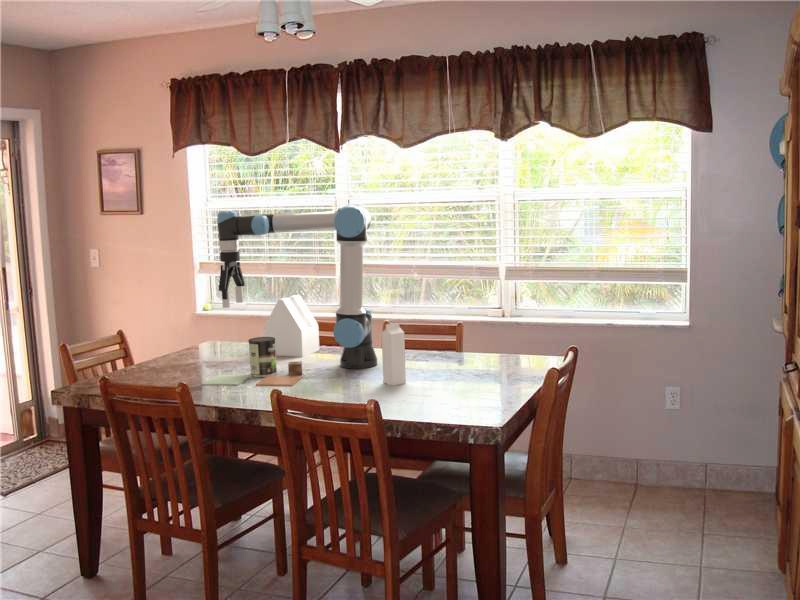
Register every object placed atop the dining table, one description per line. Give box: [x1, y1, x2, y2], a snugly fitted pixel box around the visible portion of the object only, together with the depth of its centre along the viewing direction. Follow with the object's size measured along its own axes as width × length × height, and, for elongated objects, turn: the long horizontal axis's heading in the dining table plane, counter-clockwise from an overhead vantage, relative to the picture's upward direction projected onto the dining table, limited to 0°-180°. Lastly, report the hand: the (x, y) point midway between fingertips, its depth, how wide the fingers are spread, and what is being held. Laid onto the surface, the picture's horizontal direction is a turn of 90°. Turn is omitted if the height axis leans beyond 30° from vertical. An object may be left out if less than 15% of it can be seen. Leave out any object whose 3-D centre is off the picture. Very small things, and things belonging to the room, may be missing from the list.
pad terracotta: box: [255, 374, 304, 387], centre depth 295 cm, size 14×14×1 cm
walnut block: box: [287, 360, 303, 376], centre depth 304 cm, size 5×5×5 cm
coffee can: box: [247, 336, 278, 378], centre depth 307 cm, size 10×10×14 cm
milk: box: [381, 322, 407, 386], centre depth 285 cm, size 6×6×22 cm
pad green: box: [201, 374, 252, 386], centre depth 298 cm, size 14×14×1 cm
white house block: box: [262, 294, 320, 358], centre depth 348 cm, size 19×15×25 cm
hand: (233, 305), depth 309 cm, fingers open, 13 cm apart
